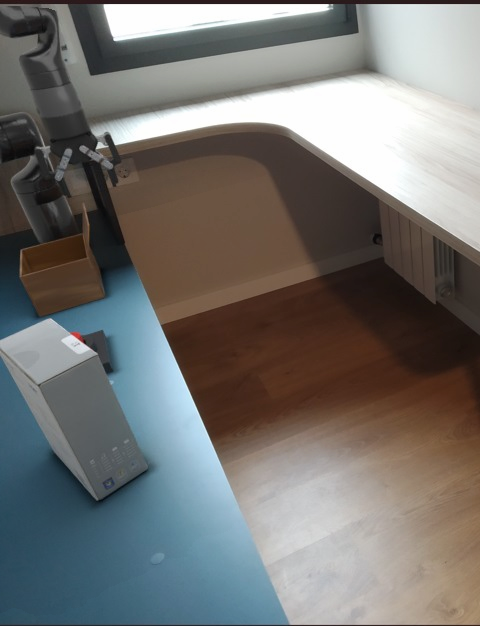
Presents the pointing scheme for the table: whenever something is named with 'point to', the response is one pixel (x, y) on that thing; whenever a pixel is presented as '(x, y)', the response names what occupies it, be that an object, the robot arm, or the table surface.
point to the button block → (99, 348)
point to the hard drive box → (74, 405)
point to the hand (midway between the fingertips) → (92, 191)
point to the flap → (86, 229)
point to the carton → (60, 275)
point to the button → (77, 336)
